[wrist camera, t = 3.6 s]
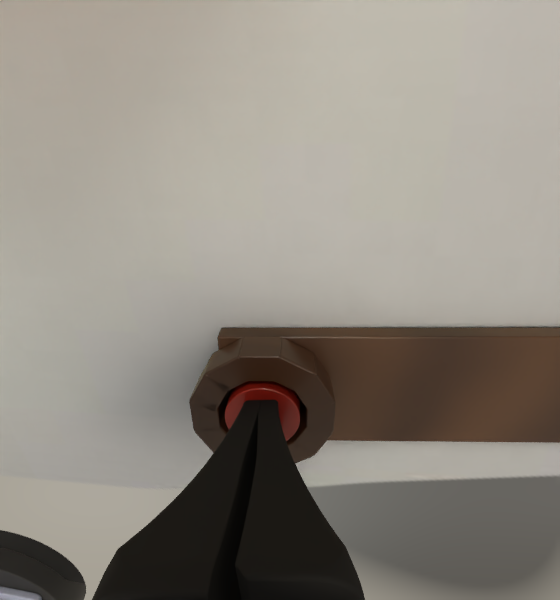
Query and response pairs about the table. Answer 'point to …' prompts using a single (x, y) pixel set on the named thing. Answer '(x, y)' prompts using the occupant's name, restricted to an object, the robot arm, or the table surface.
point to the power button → (266, 391)
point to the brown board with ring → (392, 383)
